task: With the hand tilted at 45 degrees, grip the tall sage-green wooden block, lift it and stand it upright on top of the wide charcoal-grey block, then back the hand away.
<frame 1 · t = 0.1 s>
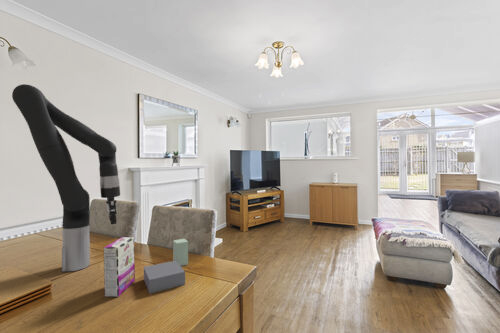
hand: (112, 222, 109), 17 cm above the table, tool pointing down, fingers open, 8 cm apart
sage block: (180, 263, 106), on the table
candy bar box: (120, 289, 84), on the table
base block: (163, 282, 89), on the table
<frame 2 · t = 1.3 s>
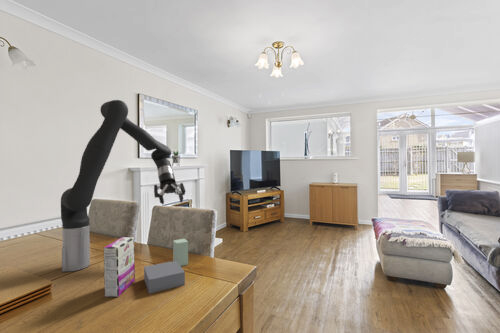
hand: (172, 202, 115), 25 cm above the table, tool tilted 45°, fingers open, 8 cm apart
nothing on the table moved.
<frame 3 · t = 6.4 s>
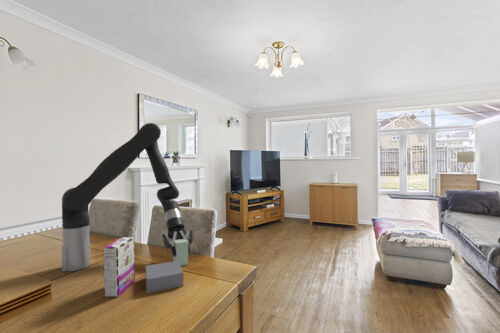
hand: (181, 254, 104), 5 cm above the table, tool tilted 45°, fingers closed on sage block, 5 cm apart
sage block: (180, 263, 106), on the table, touching gripper
everything else where it was.
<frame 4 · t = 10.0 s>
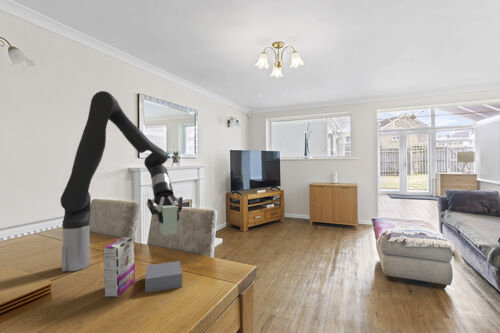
hand: (169, 221, 92), 22 cm above the table, tool tilted 45°, fingers closed on sage block, 5 cm apart
sage block: (168, 232, 93), point 17 cm above the table, touching gripper
everything else where it was.
when the fingers open (11 cm above the table, at t = 13.4 s): sage block drops 2 cm, point 5 cm above the table.
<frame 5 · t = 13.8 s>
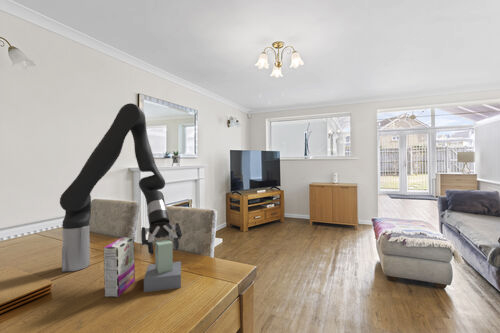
hand: (164, 251, 88), 12 cm above the table, tool tilted 45°, fingers open, 8 cm apart
sage block: (163, 269, 89), point 5 cm above the table
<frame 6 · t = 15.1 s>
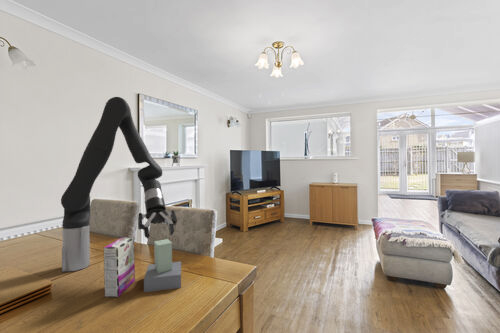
hand: (160, 235, 93), 16 cm above the table, tool tilted 45°, fingers open, 8 cm apart
nothing on the table moved.
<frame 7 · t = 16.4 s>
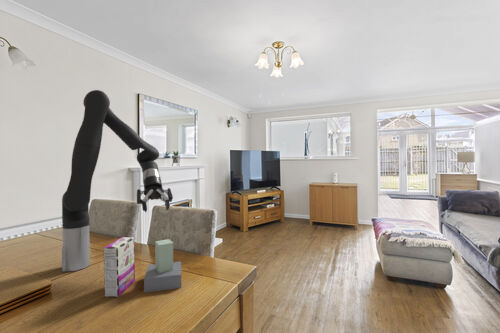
hand: (157, 209, 101), 24 cm above the table, tool tilted 45°, fingers open, 8 cm apart
nothing on the table moved.
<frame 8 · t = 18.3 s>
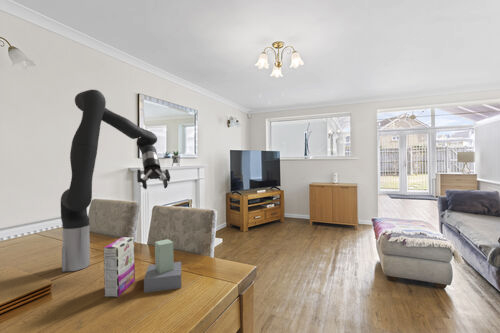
hand: (156, 187, 110), 33 cm above the table, tool tilted 45°, fingers open, 8 cm apart
sage block: (164, 269, 90), point 5 cm above the table, touching base block
base block: (164, 283, 89), on the table, touching sage block
everything else where it was.
at the end: sage block inside the target area on the base block (0.4 cm from its centre), point 5.1 cm above the base block's base; sage block tilted 2°; the gripper is holding nothing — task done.
